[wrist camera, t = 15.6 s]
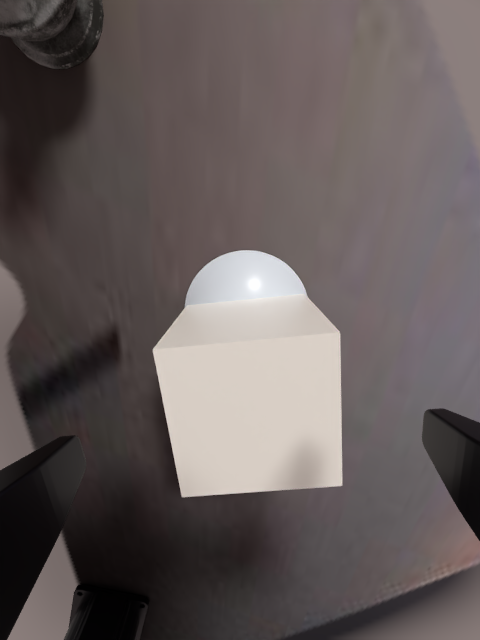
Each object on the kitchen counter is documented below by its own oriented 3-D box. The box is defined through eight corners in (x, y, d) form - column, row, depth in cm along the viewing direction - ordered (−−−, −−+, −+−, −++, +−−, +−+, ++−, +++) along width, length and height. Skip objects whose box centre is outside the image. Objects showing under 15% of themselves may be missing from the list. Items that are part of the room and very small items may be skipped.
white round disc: (287, 381, 21) (287, 382, 21) (174, 353, 21) (173, 354, 21) (325, 268, 19) (326, 269, 19) (199, 235, 19) (199, 235, 18)
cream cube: (308, 397, 22) (342, 486, 14) (203, 406, 22) (181, 497, 14) (303, 293, 20) (340, 332, 12) (187, 304, 20) (152, 349, 12)
